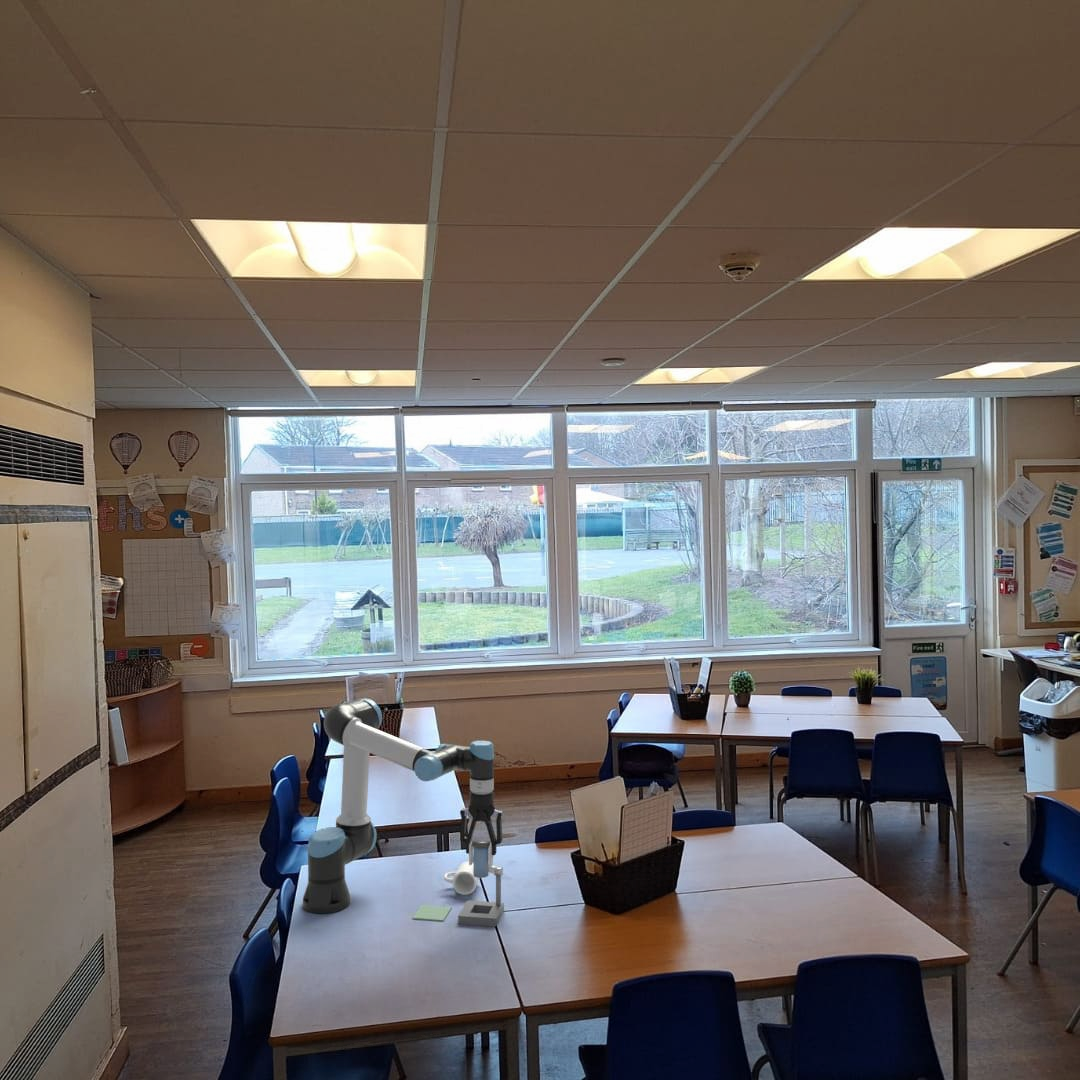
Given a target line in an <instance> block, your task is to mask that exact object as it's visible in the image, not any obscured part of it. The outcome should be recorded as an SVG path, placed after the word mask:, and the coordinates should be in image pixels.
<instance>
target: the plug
mask: <svg viewBox="0 0 1080 1080" xmlns="http://www.w3.org/2000/svg"><path fill="white" fill-rule="evenodd" d="M471 842H472V846H473V876H474V877H477V878H480V879H482V878H483V879H484V878H486V877H489V875H490V872H489V845H490V844H491V841H490V839H489V838H488V839H487V838H477V839H472V840H471Z"/></svg>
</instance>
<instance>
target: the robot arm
mask: <svg viewBox="0 0 1080 1080" xmlns="http://www.w3.org/2000/svg"><path fill="white" fill-rule="evenodd" d="M382 714H383V713H382V711H381V708H380V706H379V705H377V703H376V702H375V701H374V700H372V699H370V698H364V697H363V698H356V699H354V700H349V701H347V702H343V703H339V704H336V705H334V706H332V707H330V709H328V711H327V712H326V713H325V716H324V718H323V728H324V731H325V733H326V735H327V736H328V737H329V738H330V739H331V740H332V741H334V742H336V743H338V744H340V745H342V746H343V759H342V762H343V764H342V765H343V766H342V785H341V802H340V803H341V807H340V810H341V811H340V814H339V815H338V816H337V817H336V819H335V826H330V827H329V826H327V827H326V828H320V829H318V830H316V831H314V832H313V833H311V835H310V836H309V838H308V845H307V868H308V869H307V872H308V874H307V875H308V877H307V878H308V879H307V885H306V887H305V892H304V895H303V897H302V908H303V910H304V911H306V912H308V913H312V914H332V913H337V912H339V911H343V910H344V909H346V908H347V907H348V906H350V904H351V894H350V891H349V888H348V884H347V882H346V877H345V876H346V865H348V864H349V863H351V862H353V861H355V860H357V859H359V858H363V857H364V856H366V855H367V854H369V852H371V851H372V850H373V849H374V847H375V845H376V843H377V839H378V838H377V834H378V833H377V830H376V828H375V826H374V823H373V822H372V818H371V816H370V815H369V814H368V812H367V810H368V795H369V793H368V792H369V791H368V790H369V789H368V788H369V771H370V769H369V768H370V754H372V755H374V756H376V757H379V758H381V759H384V760H386V761H389V762H391V763H393V764H396V765H398V766H401V767H403V768H405V769H407V770H410V771H413V772H414V774H415V776H416V777H417V778H418V779H419V780H420V781H422V782H430V781H435V780H437V779H438V778H441V777H443V776H444V775H447V774H450V773H451V772H453V771H455V770H458V771H464V772H469V790H470V792H469V806H468V807H467V808H464V807H462V808H461V810H460V811H459V814H460V818H461V819H460V821H461V822H460V833H459V835H460V838H459V841H460V842H461V843H462V842H463V843H465V854H468V861H469V865H472V863H473V856H474V847H473V846H472V841H473V839H472V838H473V835H474V832H475V828H476V825H477V823H478V822H484V823H485V826H486V829H487V833H488V836H489V840H490V845H489V867H491V866H492V865H493V864H494V856H496V854H497V845H500V844H501V843H502V842H503V822H502V820H503V819H502V817H503V814H504V811H503V810H497V809H496V807H495V806H494V801H495V800H494V799H495V798H494V795H495V794H494V790H495V787H494V786H495V780H494V779H495V777H494V776H495V775H494V774H495V773H494V772H495V769H494V767H495V765H494V763H495V750H494V749H495V748H494V744H493V743H492V742H491V741H490V740H489V741H488V740H473V741H472V742H471V743H470V745H469V746H468V745H467V746H466V745H460V744H453V743H441V744H439V745H438V747H437V748H436V749H435V751H431V750H429V749H426V748H424V747H421V746H418V745H416V744H414V743H411V742H408V741H406V740H404V739H402V738H400V737H397V736H394V735H392V734H390V733H387V732H385V731H382V730H380V729H379V727H380V726H381V725H382V721H383V715H382ZM469 814H470V816H471V817H472V820H471V824H470V826H469V830H468V833H467V823H468V815H469ZM493 815H494V817H495V818H496V820H495V823H496V825H495V826H496V833H495V830H494V826H493V823H492V822H493V821H492V816H493ZM493 866H494V865H493Z"/></svg>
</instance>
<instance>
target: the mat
mask: <svg viewBox="0 0 1080 1080" xmlns="http://www.w3.org/2000/svg"><path fill="white" fill-rule="evenodd" d="M452 908H453V907H452V906H441V905H429V904H428V905H427V904H421V905H420V906H419V908H418V910H417V911H416V912H415V914H414V915H413V916H412V919H413V920H421V921H422V920H423V921H434V922H435V921H437V922H444V921H445V920H446V918H447V916H448V915H449V913H450V912H451V911H452Z"/></svg>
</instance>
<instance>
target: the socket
mask: <svg viewBox="0 0 1080 1080" xmlns="http://www.w3.org/2000/svg"><path fill="white" fill-rule="evenodd" d="M504 910H505V903H504V902H502V875H501V876H495V902H494V901H483V900H482V901H480V900H467V901H466V903H465V904H464V906H463V907H462V909H461V910H460V912H459V913H458V917H457V924H459V925H469V926H470V925H471V926H482V925H483V926H484V927H495V928H496V927H497V926H498V923H499V922H500V919H501V917H502V916H503V914H504ZM474 912H475V913H474ZM476 912H479V913H476Z"/></svg>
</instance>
